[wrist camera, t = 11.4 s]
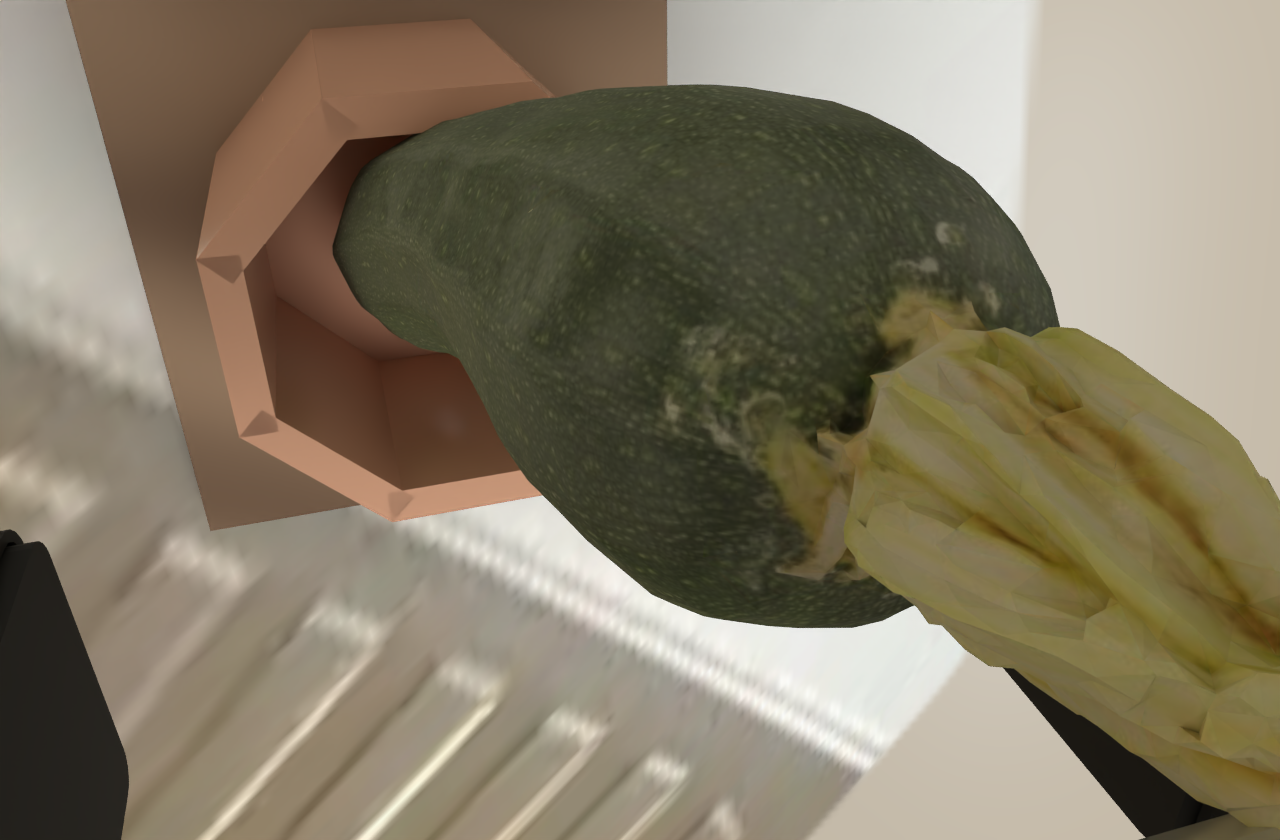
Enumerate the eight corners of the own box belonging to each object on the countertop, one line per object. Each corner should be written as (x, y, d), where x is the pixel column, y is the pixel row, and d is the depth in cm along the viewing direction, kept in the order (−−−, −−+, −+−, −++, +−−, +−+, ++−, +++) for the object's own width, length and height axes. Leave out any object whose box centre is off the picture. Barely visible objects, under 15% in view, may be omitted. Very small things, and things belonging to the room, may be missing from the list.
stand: (35, -175, 18) (17, -176, 17) (642, -188, 21) (665, -188, 20) (214, 496, 25) (210, 530, 24) (652, 422, 28) (669, 450, 27)
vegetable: (271, 135, 20) (1237, 308, 2) (487, 75, 21) (2273, -158, 3) (351, 354, 21) (1273, 1549, 4) (547, 286, 22) (1945, 912, 5)
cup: (190, 36, 19) (159, 111, 14) (576, 11, 21) (669, 69, 16) (268, 386, 23) (265, 545, 18) (591, 340, 24) (671, 471, 19)
